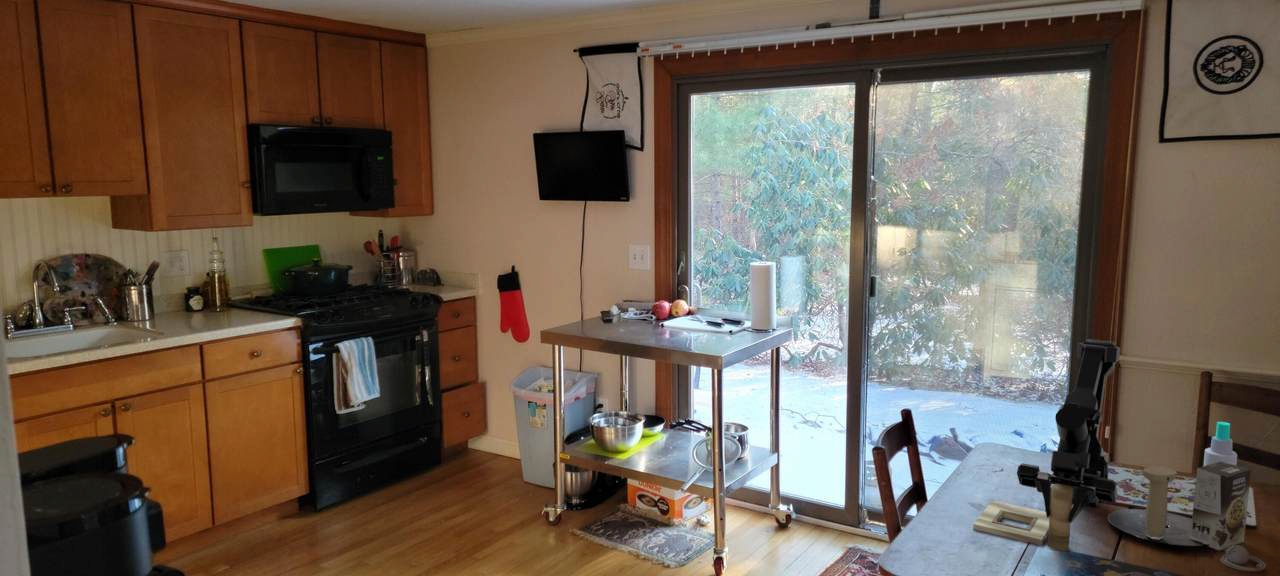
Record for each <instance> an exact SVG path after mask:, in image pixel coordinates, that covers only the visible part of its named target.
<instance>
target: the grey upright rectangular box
mask: <svg viewBox="0 0 1280 576" xmlns="http://www.w3.org/2000/svg"><path fill="white" fill-rule="evenodd" d="M1251 472H1252V470H1251V469H1249V468H1247V467H1243V466H1240V465H1237V464H1236V465H1232V464H1228V463H1224V462H1217V463H1214V464H1210V465H1207V466H1204V465H1202V466H1199V467H1197V469H1196V478H1195V485H1194V486H1195V488H1194V495H1193V505H1192V506H1193V507H1192V508H1193V509H1192V516H1191V517H1192V518H1191V527H1190V535H1191V536H1193V537H1196V538H1199V539H1202V540H1205V541H1207V542H1210V543H1211V544H1210V545H1209V546H1208V547H1209V548H1211V549H1214V550H1216V551H1222V550H1224V549H1227V547H1228V548H1230V547H1232V546H1231V545H1233V546H1237V545H1238V544H1241V543H1244V541H1245V535H1246V534H1245V533H1246V524H1247V515H1248V503H1249V494H1250V484H1251V475H1252V473H1251ZM1229 546H1230V547H1229Z"/></svg>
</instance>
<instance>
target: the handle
mask: <svg viewBox="0 0 1280 576" xmlns="http://www.w3.org/2000/svg"><path fill="white" fill-rule="evenodd" d="M1177 475H1178V472H1177V471H1176V470H1174V469H1172V468H1168V467H1163V466H1151V467H1145V468H1143V469H1142V476H1143V477H1144V478H1145V479H1147V480H1149V487H1148V494H1147V500H1146V507H1145V514H1144V515H1145V518H1144V521H1145V522H1144V523H1145V524H1144V525H1145V530H1146V531H1145V535H1146V534H1147V535H1149V536H1151V537H1162V536H1165V530H1166V526H1167V521H1168V492H1169V491H1168V487H1169V483H1171V482H1173V481H1174V480H1176V479H1177Z"/></svg>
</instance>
